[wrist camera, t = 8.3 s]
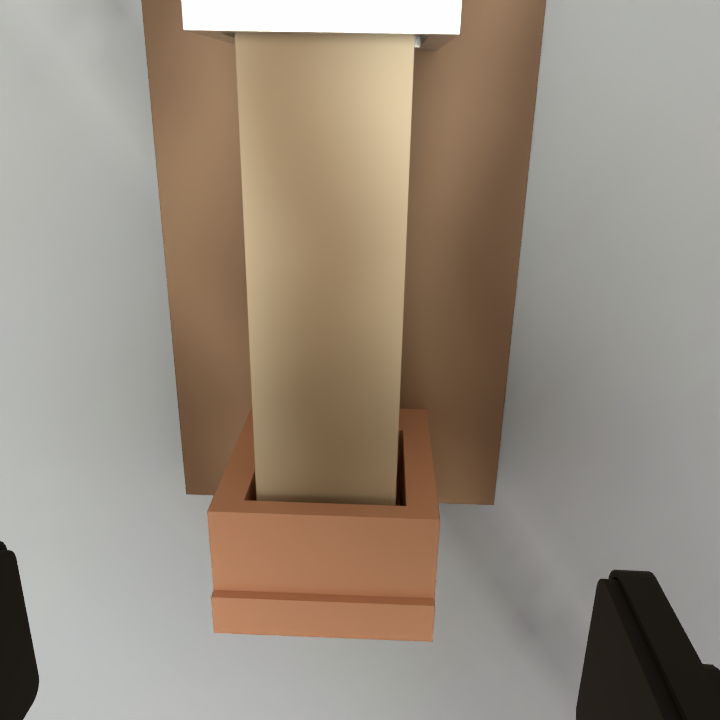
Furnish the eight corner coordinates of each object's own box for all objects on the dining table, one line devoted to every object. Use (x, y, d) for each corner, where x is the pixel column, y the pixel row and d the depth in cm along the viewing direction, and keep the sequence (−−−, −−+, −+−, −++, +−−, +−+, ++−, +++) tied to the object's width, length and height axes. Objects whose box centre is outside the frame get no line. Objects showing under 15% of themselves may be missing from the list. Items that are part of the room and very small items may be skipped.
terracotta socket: (426, 409, 25) (440, 526, 18) (421, 502, 27) (432, 641, 20) (253, 404, 25) (204, 517, 19) (257, 496, 27) (214, 632, 20)
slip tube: (415, -97, 18) (423, -147, 14) (392, 501, 24) (392, 576, 21) (259, -98, 18) (224, -148, 14) (278, 497, 24) (259, 571, 21)
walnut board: (569, -332, 18) (583, -366, 17) (488, 483, 28) (493, 504, 26) (128, -331, 19) (108, -365, 17) (196, 474, 28) (186, 494, 27)
